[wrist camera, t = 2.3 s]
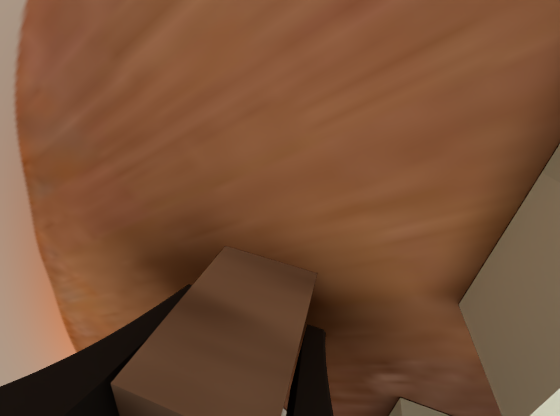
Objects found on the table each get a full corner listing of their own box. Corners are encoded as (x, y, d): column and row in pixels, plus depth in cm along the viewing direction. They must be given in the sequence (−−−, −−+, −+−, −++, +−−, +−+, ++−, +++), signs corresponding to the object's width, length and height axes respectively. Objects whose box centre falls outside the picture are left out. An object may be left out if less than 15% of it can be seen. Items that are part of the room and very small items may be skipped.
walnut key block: (300, 337, 13) (254, 518, 8) (222, 310, 13) (131, 458, 8) (317, 272, 11) (271, 453, 6) (225, 245, 12) (110, 383, 6)
